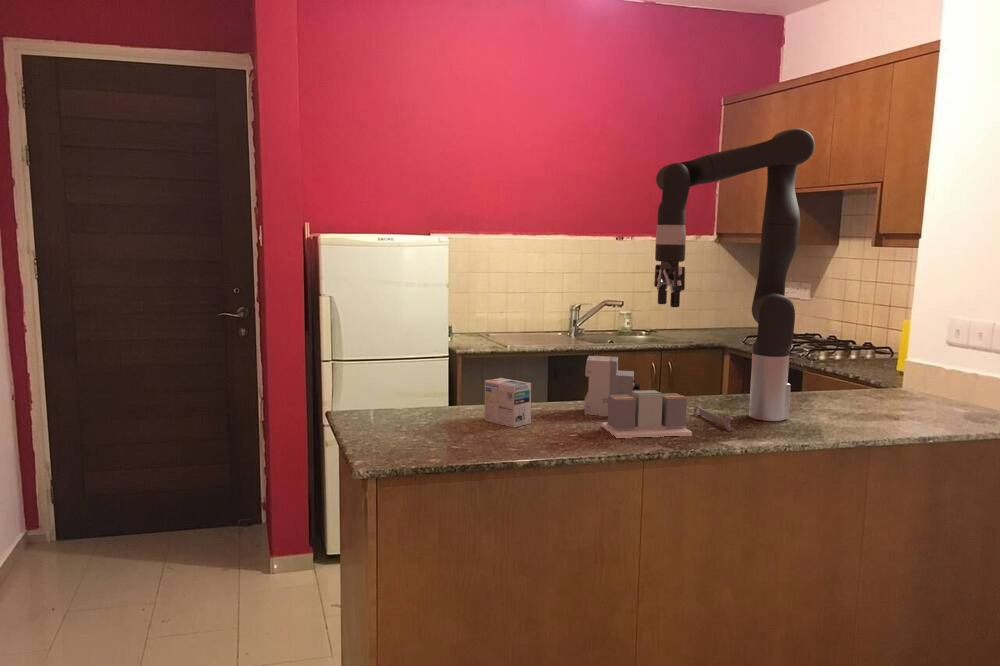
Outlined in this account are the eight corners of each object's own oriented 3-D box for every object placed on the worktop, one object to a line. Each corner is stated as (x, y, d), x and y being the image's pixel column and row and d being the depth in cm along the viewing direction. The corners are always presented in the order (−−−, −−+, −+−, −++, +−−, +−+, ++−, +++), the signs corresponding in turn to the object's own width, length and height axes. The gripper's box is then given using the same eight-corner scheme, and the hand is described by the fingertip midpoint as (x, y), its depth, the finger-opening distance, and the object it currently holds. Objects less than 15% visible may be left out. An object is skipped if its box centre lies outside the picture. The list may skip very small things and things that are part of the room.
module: (653, 421, 192) (655, 389, 191) (661, 426, 187) (662, 393, 186) (631, 422, 191) (632, 390, 190) (637, 427, 186) (639, 394, 185)
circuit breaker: (638, 418, 202) (640, 362, 200) (584, 415, 205) (585, 360, 203) (638, 411, 210) (640, 357, 208) (586, 408, 213) (588, 355, 211)
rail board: (672, 423, 197) (673, 389, 196) (691, 436, 185) (693, 400, 184) (601, 426, 194) (602, 391, 192) (616, 438, 182) (618, 402, 181)
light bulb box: (531, 423, 195) (532, 382, 194) (514, 428, 190) (514, 386, 189) (501, 416, 203) (501, 376, 201) (483, 421, 198) (483, 380, 196)
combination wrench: (693, 403, 208) (730, 418, 188) (698, 402, 208) (735, 418, 189) (693, 416, 208) (729, 433, 189) (697, 416, 209) (734, 433, 189)
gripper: (696, 243, 190) (693, 308, 192) (673, 242, 204) (671, 303, 206) (667, 243, 189) (665, 308, 191) (646, 242, 203) (644, 303, 205)
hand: (668, 305), depth 199 cm, fingers open, 8 cm apart
